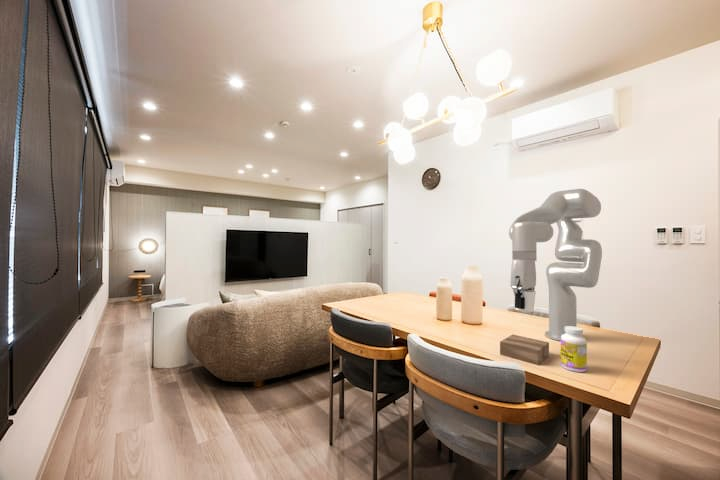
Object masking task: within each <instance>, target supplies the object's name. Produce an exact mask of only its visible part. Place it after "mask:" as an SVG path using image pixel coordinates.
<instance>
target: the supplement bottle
mask: <svg viewBox="0 0 720 480" xmlns="http://www.w3.org/2000/svg"><path fill="white" fill-rule="evenodd" d="M583 329H584V328H582V327H578V326H577V327H574V326H565V334H563V335H562V336H561V341H560V366H561V367H562V368H564V369H565V370H568V371H570V372H575V373H584V372H586V371H587V369H588V368H587V365H588V364H587V362H588V361H587V360H588V359H587V357H588V352H587V350H588V349H587V348H588V347H587V346H588V345H587V344H588V342H587V341H588V340H587V339H586V337H584V336H583V334H584V331H583Z"/></svg>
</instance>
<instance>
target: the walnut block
mask: <svg viewBox="0 0 720 480" xmlns="http://www.w3.org/2000/svg"><path fill="white" fill-rule="evenodd" d="M499 355H500V356H503V357H505V358H510V359H514V360H517V361H522V362H524V363H529V364H532V365H536V366H539V365H540V364H541V363H543V362H544V361H545V360H546V359H547V358H548V357H550V342H548V341H543V340H540V339H535V338H530V337H525V336H522V335H517V334H512V335H509V336H508V337H505V338H504V339H502V340H500V341H499Z"/></svg>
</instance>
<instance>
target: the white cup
mask: <svg viewBox="0 0 720 480" xmlns="http://www.w3.org/2000/svg"><path fill="white" fill-rule="evenodd" d="M521 291H522V290H520V292H521ZM536 292H537V291H536V290H535V289H534V290H529V289H525V292H524V297H525V309H519V308H515V307H514V309H515V310H516V311H519V312H534V309H535V303H536V302H535V301H536ZM513 297H514V298H513V299H514V301H515V296H514V295H513Z"/></svg>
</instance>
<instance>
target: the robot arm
mask: <svg viewBox="0 0 720 480" xmlns="http://www.w3.org/2000/svg"><path fill="white" fill-rule="evenodd" d="M601 211H602V203H601V202H600V200H599V198H598V197H596V195H594V194H593V193H592V192H591V191H589V190H587V189H584V188H575V189H566V190H565V189H564V190H559V191H555V192H553V193H551V194H550V195H549V196H548V197H547V198H546V199H545V200H544V202H542V204H541V205H540V206H539V207H536V208H534V209H532V210H530V211H528V212H525V213H523V214H521V215H519V216H518V217H517V218H516V219H515V220H514V221H513V222H512V223H511V224H510V225H511V226H510V227H509V230H508V235H509V238H510V240H511V241H512V242H511V243H512V244H511V245H512V247H511V248H512V253H511V254H512V255H511V256H512V257H511V258H512V259H511V260H512V263H511V269H510V288H511V289H512V291H513V297H514V296H515V300H514V309H515V308H519V309H525V297H524V292H525V289H529V290H534V291H535V288H536V285H537V270H536V269H537V268H536V262H537V247H538V246H537V243H545V242H548V241H550V240H551V239H552V238H553V236H554V228H553V226H552V225H553V224H555V223H556V226H557V229H558V234H557V239H556V244H555V248H554V256H555V258H556V259H557V260H559V261H561V262H558V261H557V262H551V263H549V264H548V265H547V267H546V269H545V270H546V271H545V276H546V279H547V280H546V281H547V284H548V285H547V286H548V330H546V331H545V332H544V336H545V337H547V338H549V339H550V340H555V341H558V342H561V336H562V335H563V334H565V326H574V327H578V326H577V296H576V293H575V292H574V290H573V289H572V288H571V287H576V288H578V287H579V288H588V289H589V288H590V289H591V288H594V287H596V286H597V284H598V281H599V278H600V271H601V264H602V263H601V262H602V257H603V249H602V245H601V243H600V242H599V241H598V240H595V239H591V238H590V239H586V238H585V239H582V237H583V230H582V227H580V225H579V224H578V223H577V222H575V221H574V219H589V218H590V219H591V218H596V217H597V216H599V215H600V213H601ZM520 290H522V291H521V292H520Z"/></svg>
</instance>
